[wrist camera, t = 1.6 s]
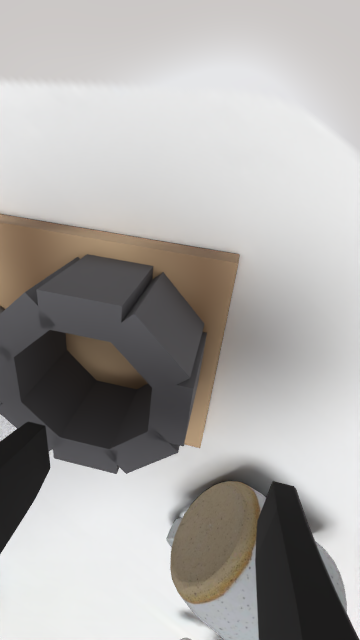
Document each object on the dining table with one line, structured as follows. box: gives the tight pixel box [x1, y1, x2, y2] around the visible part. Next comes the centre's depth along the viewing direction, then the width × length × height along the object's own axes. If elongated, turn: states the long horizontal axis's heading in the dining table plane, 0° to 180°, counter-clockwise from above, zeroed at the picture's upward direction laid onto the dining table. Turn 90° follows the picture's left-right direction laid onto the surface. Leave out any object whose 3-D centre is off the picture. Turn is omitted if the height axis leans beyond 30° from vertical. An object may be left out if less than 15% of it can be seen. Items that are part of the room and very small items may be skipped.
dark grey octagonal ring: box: [0, 254, 207, 474], centre depth 15 cm, size 8×8×4 cm
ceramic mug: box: [167, 481, 347, 640], centre depth 20 cm, size 10×8×7 cm
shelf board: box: [0, 214, 239, 448], centre depth 16 cm, size 20×11×6 cm, turn 83°
